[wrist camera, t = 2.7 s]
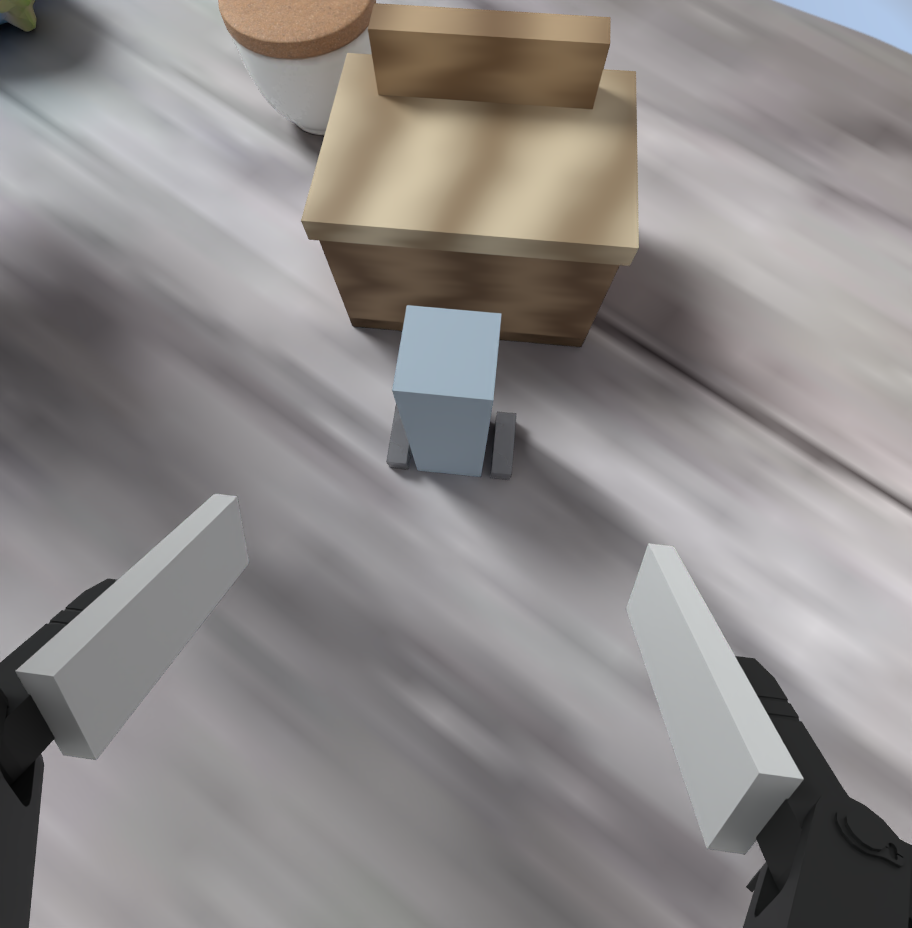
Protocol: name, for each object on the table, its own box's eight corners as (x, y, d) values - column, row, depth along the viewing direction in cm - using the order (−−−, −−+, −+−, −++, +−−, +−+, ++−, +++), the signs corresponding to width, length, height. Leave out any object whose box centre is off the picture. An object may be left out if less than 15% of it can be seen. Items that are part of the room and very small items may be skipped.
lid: (308, 239, 23) (277, 164, 19) (351, 76, 27) (333, -16, 23) (629, 265, 23) (666, 193, 19) (628, 94, 26) (658, 3, 22)
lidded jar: (385, 157, 36) (361, 9, 27) (255, 155, 36) (188, 8, 27) (394, 67, 39) (375, -92, 30) (274, 66, 39) (220, -92, 30)
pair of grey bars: (389, 467, 28) (386, 461, 27) (398, 409, 29) (396, 401, 28) (509, 479, 28) (511, 474, 27) (514, 421, 29) (516, 413, 28)
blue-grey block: (417, 470, 28) (392, 390, 17) (425, 412, 29) (406, 305, 19) (480, 477, 28) (493, 400, 17) (486, 418, 29) (501, 313, 18)
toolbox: (352, 326, 31) (317, 236, 24) (380, 195, 35) (357, 80, 27) (581, 347, 30) (621, 261, 23) (585, 211, 34) (621, 98, 26)
